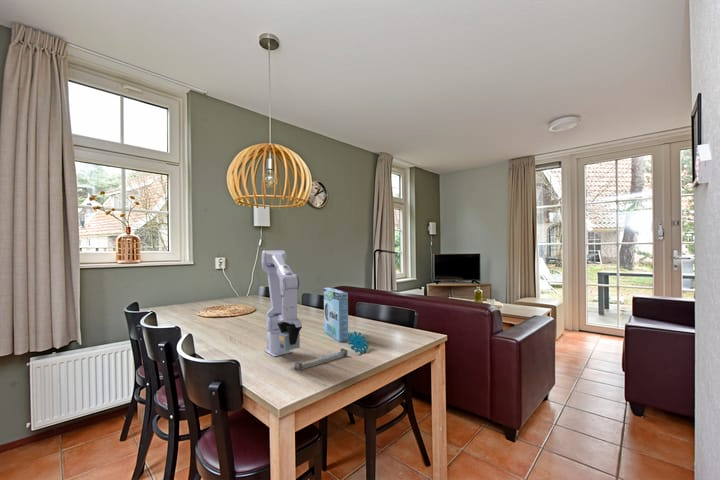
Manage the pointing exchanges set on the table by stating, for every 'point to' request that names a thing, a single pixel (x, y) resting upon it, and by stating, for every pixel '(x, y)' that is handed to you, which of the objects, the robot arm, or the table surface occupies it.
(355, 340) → the gear
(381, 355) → the table surface
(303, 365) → the rail
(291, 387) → the table surface
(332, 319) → the gum box
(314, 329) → the table surface
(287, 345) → the block
